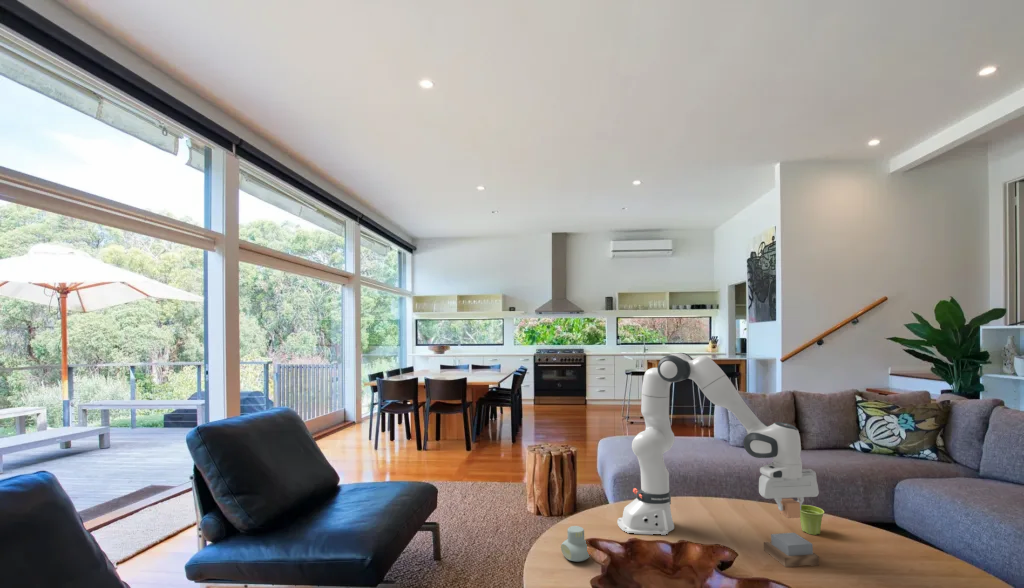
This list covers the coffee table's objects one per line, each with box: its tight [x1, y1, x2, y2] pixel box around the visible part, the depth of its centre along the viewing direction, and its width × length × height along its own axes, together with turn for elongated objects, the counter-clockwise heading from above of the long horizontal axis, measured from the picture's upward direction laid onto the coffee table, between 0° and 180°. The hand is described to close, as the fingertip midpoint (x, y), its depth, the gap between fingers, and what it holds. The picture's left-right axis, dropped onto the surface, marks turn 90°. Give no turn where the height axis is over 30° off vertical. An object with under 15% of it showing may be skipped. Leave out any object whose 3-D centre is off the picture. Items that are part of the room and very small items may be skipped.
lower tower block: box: [763, 541, 820, 568], centre depth 172 cm, size 12×12×4 cm
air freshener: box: [560, 525, 591, 563], centre depth 173 cm, size 11×8×10 cm
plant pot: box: [799, 504, 825, 536], centre depth 192 cm, size 9×9×9 cm
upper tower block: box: [770, 532, 814, 556], centre depth 172 cm, size 9×9×4 cm
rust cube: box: [779, 498, 800, 519], centre depth 172 cm, size 4×4×5 cm
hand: (789, 509), depth 173 cm, fingers closed on rust cube, 4 cm apart
